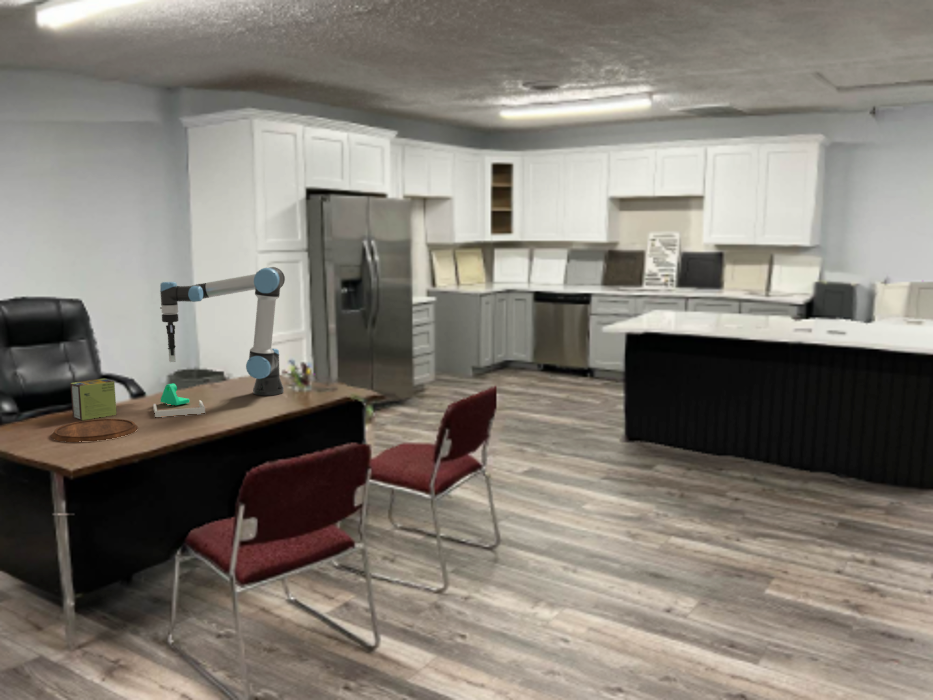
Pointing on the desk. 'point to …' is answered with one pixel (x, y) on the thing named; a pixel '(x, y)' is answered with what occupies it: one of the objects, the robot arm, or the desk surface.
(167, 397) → the camera mount
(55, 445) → the desk surface
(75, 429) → the cutting board
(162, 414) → the housing frame
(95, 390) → the protein box
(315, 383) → the desk surface
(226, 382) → the desk surface
